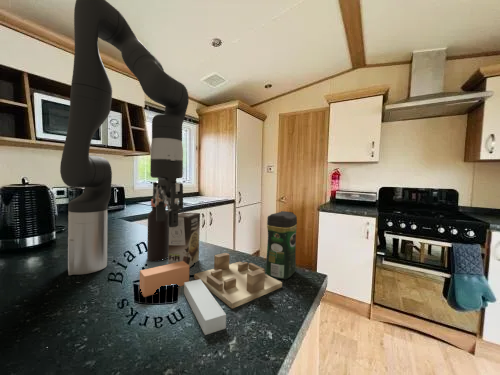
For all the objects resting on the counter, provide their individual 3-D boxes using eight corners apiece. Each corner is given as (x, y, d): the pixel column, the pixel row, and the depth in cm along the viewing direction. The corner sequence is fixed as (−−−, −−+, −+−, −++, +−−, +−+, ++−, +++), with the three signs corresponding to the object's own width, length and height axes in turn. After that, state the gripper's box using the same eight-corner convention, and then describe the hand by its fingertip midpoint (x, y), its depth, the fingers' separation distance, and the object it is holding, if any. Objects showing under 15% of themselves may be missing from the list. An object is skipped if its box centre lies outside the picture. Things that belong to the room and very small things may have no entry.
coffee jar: (274, 265, 72) (277, 208, 72) (298, 271, 68) (300, 211, 68) (260, 275, 64) (263, 212, 63) (286, 283, 60) (289, 215, 59)
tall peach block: (144, 297, 51) (144, 276, 51) (139, 290, 54) (139, 270, 54) (189, 284, 58) (189, 265, 58) (182, 278, 61) (183, 260, 61)
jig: (232, 308, 47) (232, 284, 47) (194, 278, 61) (194, 259, 61) (281, 287, 58) (282, 266, 58) (239, 265, 72) (240, 248, 71)
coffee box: (186, 271, 66) (188, 217, 65) (167, 268, 67) (168, 215, 66) (199, 260, 75) (201, 212, 74) (182, 258, 76) (183, 211, 75)
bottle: (169, 253, 80) (170, 198, 79) (168, 260, 73) (169, 200, 72) (148, 255, 77) (149, 198, 77) (145, 262, 71) (146, 200, 70)
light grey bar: (204, 337, 39) (205, 320, 39) (183, 294, 53) (184, 282, 53) (225, 330, 41) (226, 314, 41) (200, 290, 55) (200, 279, 55)
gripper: (142, 159, 58) (142, 220, 58) (161, 155, 47) (160, 231, 48) (171, 161, 63) (170, 218, 63) (194, 158, 52) (193, 227, 52)
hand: (166, 223), depth 55 cm, fingers open, 8 cm apart
